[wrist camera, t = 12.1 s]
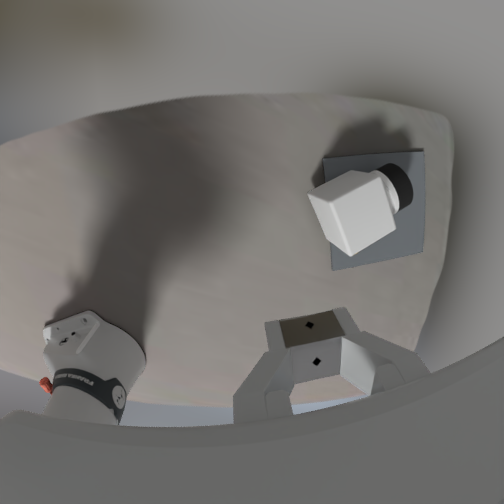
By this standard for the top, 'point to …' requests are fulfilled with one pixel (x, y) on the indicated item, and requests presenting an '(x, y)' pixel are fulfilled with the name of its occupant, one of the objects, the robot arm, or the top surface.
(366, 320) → the top surface
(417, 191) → the dark rubber mat
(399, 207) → the medicine bottle
